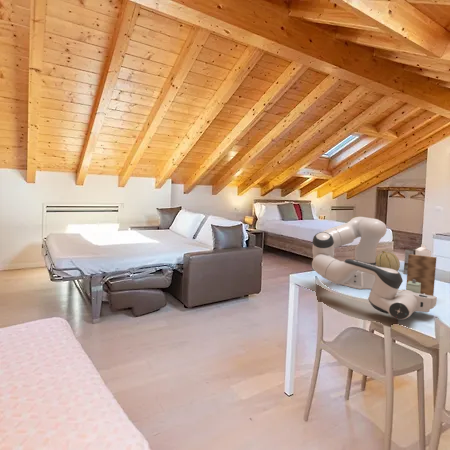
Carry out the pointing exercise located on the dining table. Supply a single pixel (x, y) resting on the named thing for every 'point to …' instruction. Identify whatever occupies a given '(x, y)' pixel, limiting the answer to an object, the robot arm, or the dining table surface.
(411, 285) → the olive rectangular canister
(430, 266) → the brown tall block
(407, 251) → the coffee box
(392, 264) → the cantaloupe
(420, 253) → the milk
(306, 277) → the dining table surface
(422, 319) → the dining table surface
